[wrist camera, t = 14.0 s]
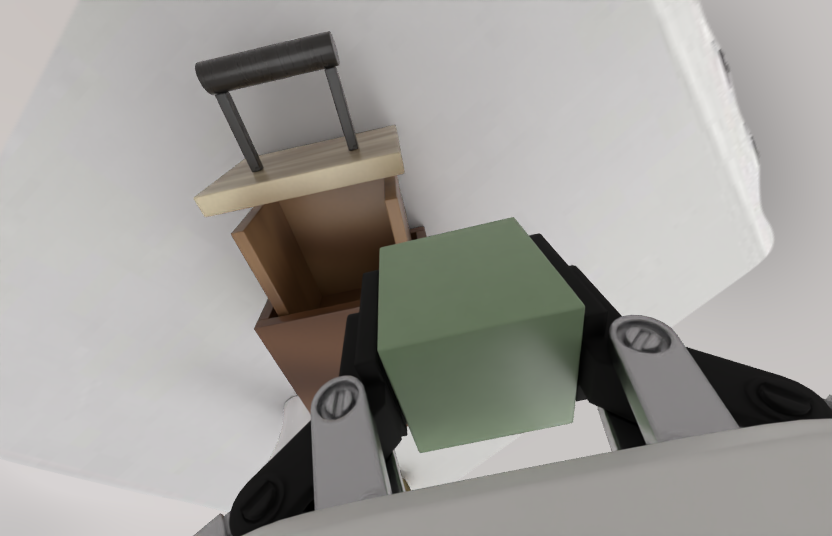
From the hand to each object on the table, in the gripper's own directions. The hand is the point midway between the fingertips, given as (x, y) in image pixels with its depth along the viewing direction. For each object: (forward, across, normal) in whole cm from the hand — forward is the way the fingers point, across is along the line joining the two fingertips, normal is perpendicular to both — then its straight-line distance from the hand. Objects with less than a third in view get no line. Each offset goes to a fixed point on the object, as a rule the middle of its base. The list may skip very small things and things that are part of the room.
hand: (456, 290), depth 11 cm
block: (0, 0, 0) cm, 0 cm away
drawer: (+17, +7, +1) cm, 18 cm away
